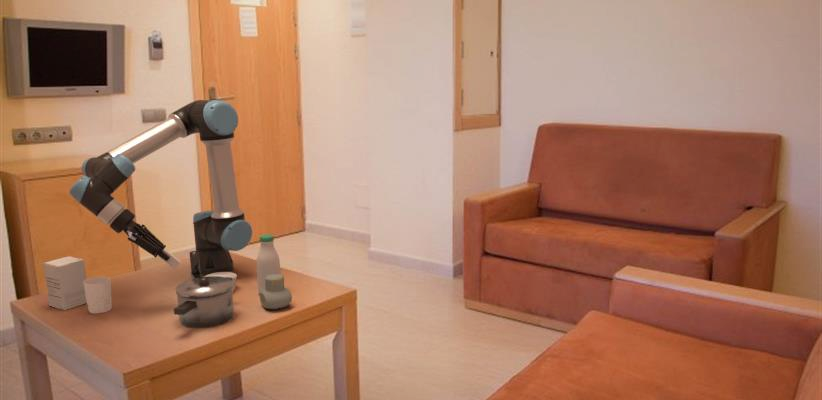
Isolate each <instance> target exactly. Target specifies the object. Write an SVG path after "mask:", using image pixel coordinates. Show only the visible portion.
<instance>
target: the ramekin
mask: <svg viewBox="0 0 822 400" xmlns="http://www.w3.org/2000/svg"><path fill="white" fill-rule="evenodd" d="M209 276H218V277H229V278H232V282H233V287H232V292H234V291H235V289H236V284H237V278H238V276H237V274H236V273H234V272H232V271H229V272H218V273H212V274H209V275H204V277H209Z"/></svg>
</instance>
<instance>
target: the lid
mask: <svg viewBox="0 0 822 400" xmlns="http://www.w3.org/2000/svg"><path fill="white" fill-rule="evenodd" d="M189 262H190V277H191V279H188V280H184V281H182V282H180V283H178V284H177V285H176V286H175V294H176V296H177V295H179V296H182V297H189V298H200V297H209V296H214V295H218V294H222V293H224V292H227V291H229V290H230V289H231V288H232V287H233V282H232V280H231V279H229V278H226V277H218V276H209V277H205V276H204V275H202V274H201V273H200V261H199V251H196V250H191V251H189Z"/></svg>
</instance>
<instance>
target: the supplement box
mask: <svg viewBox="0 0 822 400" xmlns="http://www.w3.org/2000/svg"><path fill="white" fill-rule="evenodd" d="M42 264H43V270H44V277H45V284H46V292H47V293H46V294H47V299H48V305H49V306H48V307H50V306H52V307H51V308H54V307H55V309H59V310H62V311H68V310H70V309H73V308H76V307H79V306H82V305H84V304H85V305H86V304H87V301H86V296H85V291H84V285H83V281H85V280H87V279H88V278H87V272H86V265H85V259H83V258H80V257H79V258H78V257H74V256H70V255H69V256H66V257H60V258H58V259H54V260H50V261H46V262H43V263H42ZM67 309H68V310H67Z"/></svg>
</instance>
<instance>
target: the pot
mask: <svg viewBox="0 0 822 400" xmlns="http://www.w3.org/2000/svg"><path fill="white" fill-rule="evenodd" d="M226 278H229V277H226ZM229 279H231V280H232V278H229ZM233 295H234V294H233V291H232V288H231V289H230V290H229V291H227V292H224V293H222V294H218V295H214V296H209V297H200V298H189V297H182V296H179V295H177V294H176V296H177V297H176V298H177V306H176V307H175V308H173V314H174V315H176V316H177V315H178V318H179V325H181V326H183V327H185V328H191V329H204V328H206V329H207V328H211V327H217V326H220V325H223V324H225V323H228V322H229V320H230V321H231V320H233V318H234V317H235V311H234V298H233ZM233 316H234V317H233Z"/></svg>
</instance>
